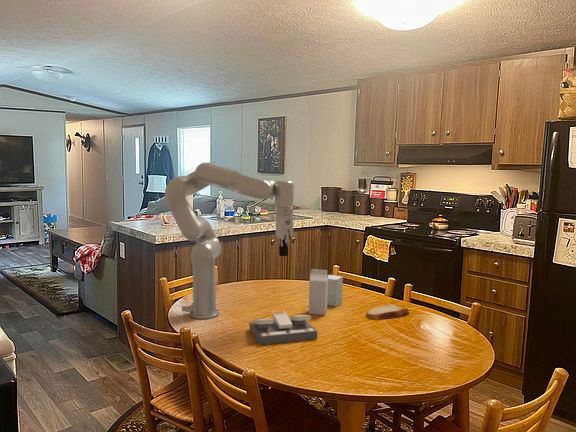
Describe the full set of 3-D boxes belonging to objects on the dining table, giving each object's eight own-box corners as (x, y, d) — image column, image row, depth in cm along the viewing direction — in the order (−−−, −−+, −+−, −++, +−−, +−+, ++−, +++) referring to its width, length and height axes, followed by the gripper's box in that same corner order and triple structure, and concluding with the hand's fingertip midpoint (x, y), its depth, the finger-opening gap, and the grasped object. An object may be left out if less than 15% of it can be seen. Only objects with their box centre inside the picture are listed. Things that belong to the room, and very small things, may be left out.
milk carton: (325, 315, 208) (326, 272, 206) (308, 314, 210) (309, 271, 207) (327, 310, 215) (328, 268, 213) (311, 309, 217) (312, 267, 214)
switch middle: (279, 328, 181) (279, 324, 180) (271, 315, 190) (272, 311, 189) (292, 327, 182) (292, 323, 182) (284, 314, 191) (284, 310, 191)
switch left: (260, 324, 178) (259, 320, 178) (253, 323, 187) (253, 318, 187) (273, 323, 179) (272, 318, 180) (266, 321, 189) (265, 317, 189)
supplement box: (342, 303, 227) (343, 276, 225) (335, 307, 220) (336, 279, 219) (328, 300, 230) (329, 274, 229) (321, 304, 224) (321, 277, 223)
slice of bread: (365, 320, 204) (365, 311, 204) (368, 307, 222) (368, 299, 221) (409, 324, 200) (409, 315, 200) (408, 311, 218) (409, 302, 217)
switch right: (298, 320, 183) (298, 316, 183) (290, 319, 192) (290, 315, 192) (311, 319, 184) (310, 315, 184) (302, 318, 193) (302, 314, 194)
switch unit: (260, 345, 175) (260, 333, 174) (249, 329, 190) (249, 319, 189) (317, 338, 181) (317, 327, 181) (302, 324, 196) (302, 314, 196)
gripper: (299, 213, 191) (298, 258, 193) (287, 208, 205) (286, 251, 207) (280, 213, 188) (280, 259, 191) (269, 209, 202) (269, 252, 205)
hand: (283, 255), depth 199 cm, fingers closed
